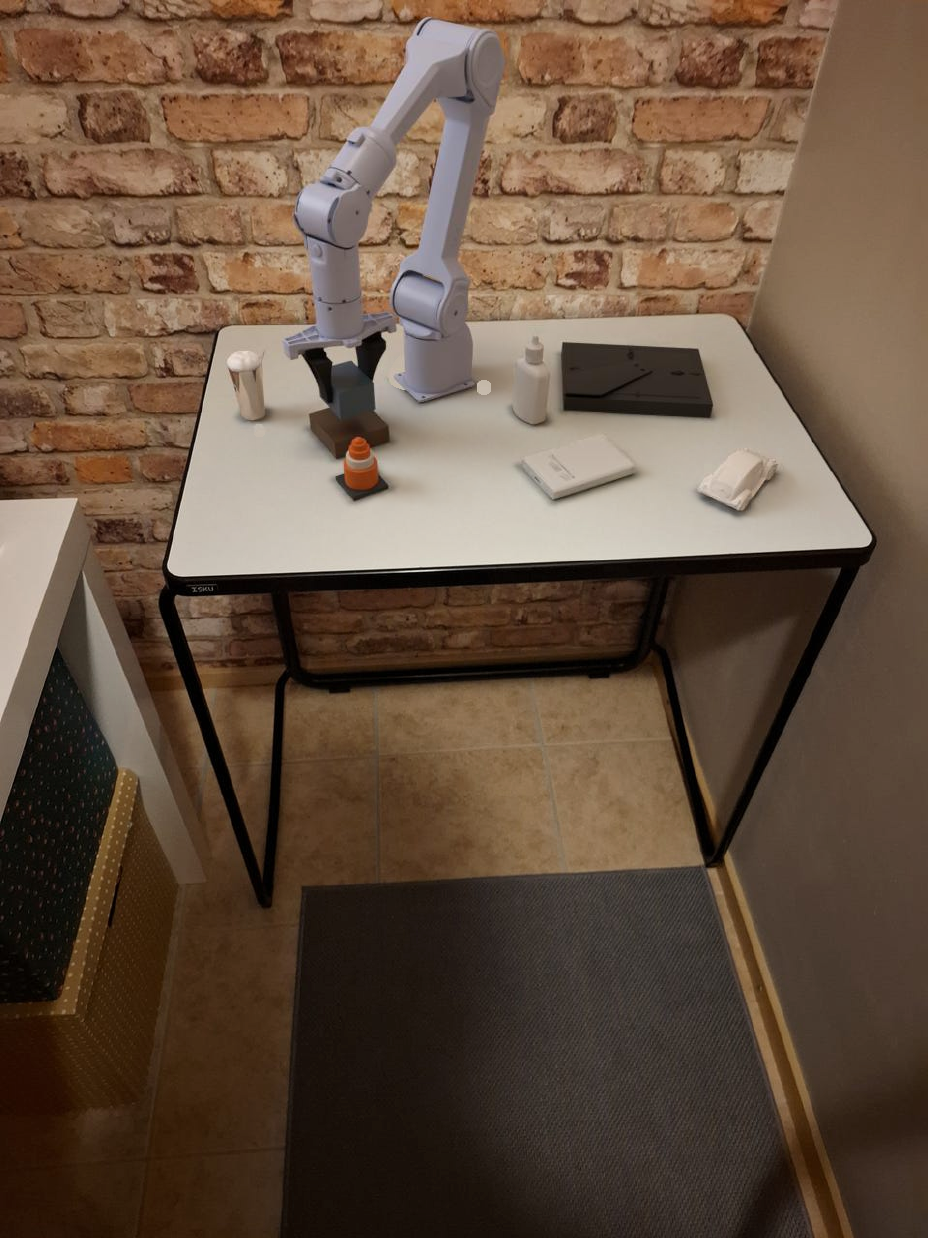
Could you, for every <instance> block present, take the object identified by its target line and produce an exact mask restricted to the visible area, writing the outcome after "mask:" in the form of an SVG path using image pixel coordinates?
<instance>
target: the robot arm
mask: <svg viewBox="0 0 928 1238" xmlns="http://www.w3.org/2000/svg"><path fill="white" fill-rule="evenodd" d="M405 43H406V44H405V65H404V67H403V68H402V70H401V72H400V74H399V75H398V77H397V79H396V81H395V82H394V83H393V86H392V87H391V89H390V91H389V93H388V95H387V96H386V98H385V100H384V101H383V104H382V105H381V107H380V108H379V111H378V112H377V114H376V116H375V117H374V119H373V121H372V123H371V125H369V126H358V127H356V128H354V130H351V132H350V133H349V135H348V136H347V137H346V141H345V142H344V145H343V146H342V147H341V149H340V150H339V152H338V153H337V154H336V156H335V158H334V159H333V160H332V162H331V164H330V165H329V166H328V168H327V169H326V171H324V173H323V175H322V177H321V178H320V179H319V180H317V181H313V182H310V183H309V184H308V185H306V186H304V187H303V188H302V189H301V190H300V192H299V193H298V195H297V197H296V201H295V208H294V209H295V210H294V213H292V220H293V223H294V226H295V228H296V229H297V231H298V232H299V233H300V234H301V236H302V239H303V247H304V248H306V251H307V252H308V259H309V270H310V277H311V278H310V279H311V287H312V288H311V289H312V296H313V305H314V306H313V307H314V314H315V322H316V323H315V324H313V325H311V326H308V327H307V328H305V329H303V330H301V331H299V332H297V333H295V334H293V335H290V336H287V337H284V338H282V345H283V353H284V355H286V357H287V358H288V359H289V360H290V361H293V360H294V361H295V360H297V359H299V356H301V357H302V359H303V360H304V361H305V363H306V364H307V366H308V368H309V369H310V371H311V373H312V375H313V377H314V380H315V382H316V384H317V387H318V391H319V390H320V393H321V397H322V398H323V399H324V400H325V401H326V403H327V404H330V403H332V402H333V392H332V385H331V371H332V366H333V365H334V364H333V361H332V359H330V358H329V356H328V354H327V351H325V349H327V348H332V347H345V348H347V349H353V348H354V349H355V354H356V362H357V363H356V364H357V367H358V368H359V369H360V370H361V371H362V372H363V373H364V374H365V375H366V376H367V377H368V378H369V379H370V380H371V381H372V382H373V383H374V379H375V374H376V371H377V368H378V365H379V363H380V361H381V358H382V357H383V355H384V353H385V352H386V351H387V341H386V339H384V338H383V336H382V333H388V334H393V333H397V317H398V325H400V326H401V327H402V328H403V356H404V357H403V358H404V371H403V372H400V373H396V374H394V375H393V380H395V381H396V383H397V384H399V386H401V387H402V388H403V389H404V390H405V391H406V392H407V393H408V394H409V395H410V396H412V398H413V399H415V400H416V402H418V403H425V402H428V401H432V400H434V399H437V398H440V397H444V396H446V395H449V394H450V395H451V394H454V393H456V392H460V391H463V390H465V389H469V388H473V387H475V381H473V357H474V355H473V352H474V341H473V336H472V332H471V330H470V328H469V325H468V324H467V323H466V319H467V316H468V312H469V289H470V285H471V279H470V277H469V276H468V275H467V273H466V271H465V270H464V268H463V267H462V265H461V264H460V262H459V259H458V257H459V253H460V248H461V245H462V242H463V241H462V240H463V237H464V231H465V229H466V228H465V227H466V223H467V220H468V219H467V218H468V213H469V209H470V206H471V202H472V197H473V193H474V188H475V183H476V179H477V175H478V171H479V166H480V162H481V158H482V153H483V149H484V144H485V140H486V136H487V133H488V132H487V131H488V127H489V123H490V119H491V116H492V115H494V113H495V110H496V106H497V102H498V97H499V93H500V89H501V86H502V85H501V84H502V80H503V76H504V71H505V67H506V63H507V59H506V56H505V52H504V49H503V46H502V42H501V40H500V37H499V35H498V34H497V32H496V31H495V30H493V29H491V28H479V27H478V28H477V27H473V26H468V25H463V24H460V23H454V22H449V21H444V20H440V19H438V18H436V17H433V16H427V17H424V18H423V19H421V20H420V21H419V22H418V24H417V25H416V27H415V29H414V30H413V34H412V35H411V36H410V37H409V38H408V39H407V40H406V42H405ZM434 100H435V101H436V102H437V103H438V104H439V107H440V109H441V110H442V113H443V115H444V118H445V119H444V125H443V130H442V134H441V139H440V143H439V148H438V153H437V159H436V164H435V168H434V172H433V178H432V183H431V188H430V192H429V197H428V200H427V206H426V211H425V216H424V221H423V226H422V230H421V235H420V240H419V245H418V249H417V250H416V251H414V252H413V253H411V254H409V255H408V256H406V257H404V258H403V259H402V260H401V261H400V265H399V269H398V273H397V274H396V275H397V276H396V278H395V279H394V281H393V283H392V285H391V287H390V291H389V306H390V310H391V311H392V313H391V312H390V311H389V310H388V311H384V312H378V313H366V314H365V313H363V312H364V309H363V298H362V297H363V296H362V295H363V294H362V282H361V281H362V280H361V267H360V252H359V242H360V240H361V239H363V237H364V236H365V234H366V232H367V228H368V224H369V217H370V214H371V212H372V211H373V206H374V204H373V203H372V202H373V201H374V199H375V197H376V196H377V195H378V193H379V192H380V191H381V189H382V187H383V185H384V184H385V183H386V181H387V180H388V178H389V177H390V176H391V174H392V172H393V171H394V170H395V168H396V167H397V164H398V163H397V162H398V161H397V160H398V159H397V158H398V157H397V150H396V148H397V146H398V145H399V144H400V142H401V141H402V140H403V139H404V138H405V136H406V135H407V134H408V132H409V131H410V130H411V129H412V127H413V126H414V125H416V123H417V122H418V120H419V119H420V118H421V116H422V115H423V114H424V113H425V112H426V110H427V109H428V108H429V107H430V105H431V104H432V103H433V102H434ZM393 314H394V315H393ZM326 403H325V404H326ZM327 404H326V405H327Z"/></svg>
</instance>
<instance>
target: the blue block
mask: <svg viewBox="0 0 928 1238" xmlns="http://www.w3.org/2000/svg"><path fill="white" fill-rule="evenodd" d="M331 385H332V392H333V402H332V403H330V404H327V403H326V401H325V400H324V399H323V398H322V397H321V393H320V390H319V389H318V393H319V398H320V399H321V400H322V401H323V402H324V403H325V405H326V406H327V407H328V408H330V409H331V410H332V411H333V412H334V413H335V414H336V415H337V416H338V417H339V419H340V420H344V419H347V418H351V417H354V416H357V415H360V414H364V413H367V412H370V411H376V396H375V395H376V393H375V382H374V381H373V382H372V381H371V380H370V379H369V378H368V377H367V376H366V375H365V374H364V373H363V372H362V371H361V370H360V369H359V368H358V365H357V364H355V363H354V362H353V360H347V361H344V362H340V363H336V364H332V371H331Z"/></svg>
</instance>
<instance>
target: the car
mask: <svg viewBox="0 0 928 1238" xmlns="http://www.w3.org/2000/svg"><path fill="white" fill-rule="evenodd" d="M778 465H779V463H778V462H777V460H775V459H773V458H772V459H770V458H769V457H767V456H765V455H762V454H760V453H758V452H755V451H753V450H751V449H749V448H748V447H745V448H741V449H739V450H734V452H733V453H731V454H730V455H729V456H728V457H727V458H726V459H725V460H724V461H723V462H722V463H721V464H720V465H719V467H718V468H717V469H716V470H715V472H714V473H713V472H710V473H708V474H707V475H706V476H705V478H704V479H703V480H702V481H701V483H700V485H699V486H698V488H697V490H696V492H697V493H701V494H703V495H705V496H707V497H708V498H710V497H711V498H712V499H714V500H715V501H718V502H719V503H723V504H725V505H726V506H729V507H731V508H733V509H735V510H737V511H738V512H740V511H741V512H743V511H744V510H745V509H746V508H747V507H748V504H749V503H750V501H751V500H752V499H753V497H754V496H755V495H756V494H757V492H758V491H759V489H760V488H761V486H762V485H763V484H764V482H765V481H768V482H769V481H770V480H771V479H772V478H773V476H774V475H775V472H776V469H777V468H778Z"/></svg>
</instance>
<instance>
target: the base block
mask: <svg viewBox="0 0 928 1238" xmlns="http://www.w3.org/2000/svg"><path fill="white" fill-rule="evenodd" d="M308 418H309V426H310V430H311V431H312V433H313V434H314V435H315V436H316V438H317V439H319V441H320V442H321V443H322V444H323V446H324V447H325V448H326V449H327V450H328V451H329V452H330V454H331V455H332V456H333V457H334V458H335V459H336V460H338V459H340V458H343V457H346V453H347V451H348V450H349V446H350V444H351V442H352V440H353V439H355V438H356V437H361V438H363V439H365V440H366V443H367V444H369V446H370V449H372V448H374V447H377V446H380V445H383V444H386V443H389V442H391V440H390V439H391V437H390V426H389V424H388V423H387V422H386V421H385V420H384V418H382V417H381V416H380V415H379V414H378V413H377V411H376V410H374V411H370V412H367V413H364V414H360V415H357V416H354V417H351V418H347V419H344V420H340V419H339V417H338V416H337V415H336V414H335V413H334V412H333V411H332V410H331V409H330V408H329V407H326V408H323V409H320V410H316V411H313V412H310V413H308Z"/></svg>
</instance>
